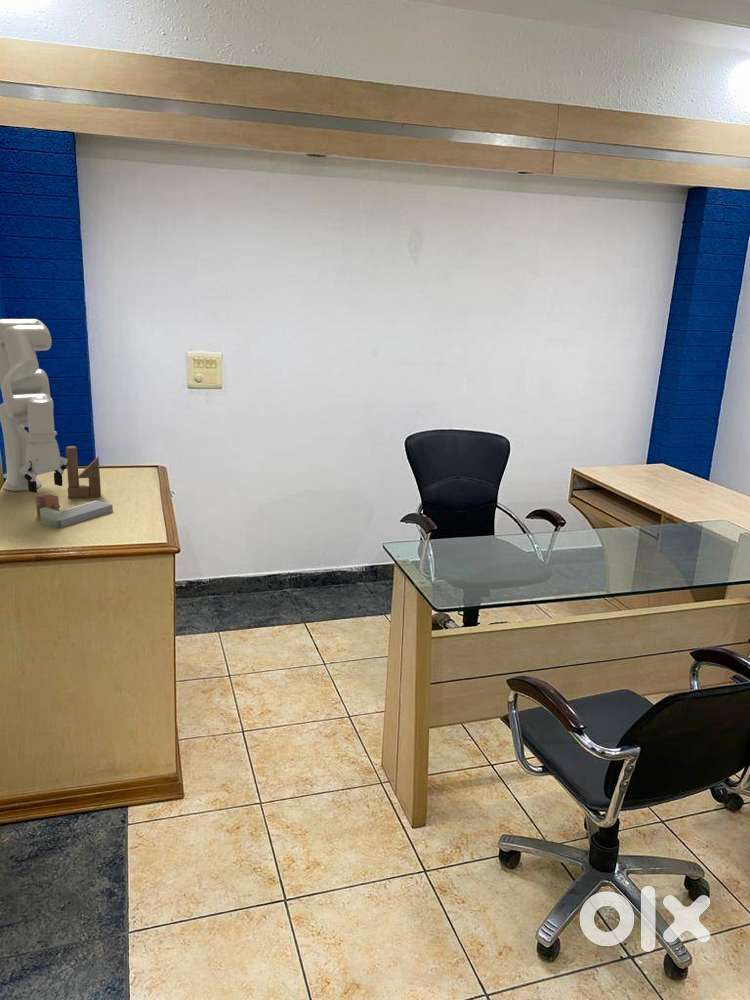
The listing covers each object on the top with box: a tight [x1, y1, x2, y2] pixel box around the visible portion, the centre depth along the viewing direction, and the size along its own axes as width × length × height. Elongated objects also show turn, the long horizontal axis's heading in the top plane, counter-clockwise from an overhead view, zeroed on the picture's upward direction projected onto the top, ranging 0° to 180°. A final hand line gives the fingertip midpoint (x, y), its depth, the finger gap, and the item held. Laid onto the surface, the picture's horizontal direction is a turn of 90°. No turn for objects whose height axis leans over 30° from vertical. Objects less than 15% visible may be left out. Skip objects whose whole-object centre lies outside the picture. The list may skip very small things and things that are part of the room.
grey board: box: [39, 499, 114, 529], centre depth 258 cm, size 8×22×5 cm, turn 149°
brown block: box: [35, 492, 61, 518], centre depth 257 cm, size 8×4×7 cm, turn 59°
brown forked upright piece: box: [65, 445, 102, 499], centre depth 278 cm, size 4×11×18 cm, turn 105°
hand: (45, 488), depth 256 cm, fingers open, 9 cm apart
